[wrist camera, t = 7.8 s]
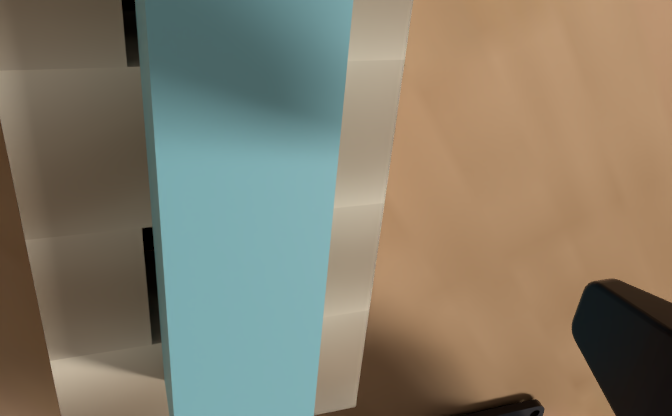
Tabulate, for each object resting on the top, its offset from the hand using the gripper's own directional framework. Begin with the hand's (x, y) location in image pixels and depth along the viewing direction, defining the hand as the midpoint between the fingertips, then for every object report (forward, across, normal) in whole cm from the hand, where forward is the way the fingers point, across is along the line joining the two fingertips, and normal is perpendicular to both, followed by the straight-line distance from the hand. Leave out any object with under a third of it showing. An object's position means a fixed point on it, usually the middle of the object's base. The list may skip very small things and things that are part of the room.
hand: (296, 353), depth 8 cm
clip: (+10, 0, 0) cm, 10 cm away
